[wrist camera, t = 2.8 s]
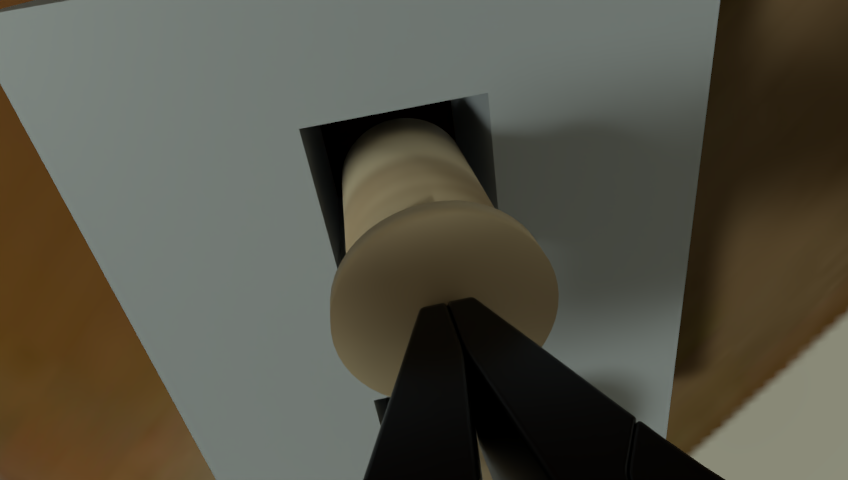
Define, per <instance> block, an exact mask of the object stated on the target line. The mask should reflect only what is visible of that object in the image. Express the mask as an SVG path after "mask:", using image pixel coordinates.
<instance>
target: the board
mask: <svg viewBox="0 0 848 480" xmlns="http://www.w3.org/2000/svg"><path fill="white" fill-rule="evenodd" d="M719 6H720V0H34V1H30V2H26V3H22V4H19V5H15V6H11V7H7V8H3V9H0V84H1V86H2V87H3V89H4V91H5V93H6V95H7V97H8V98H9V100H10V102H11V104H12V106H13V108H14V109H15V111H16V113H17V115H18V117H19V119H20V120H21V122H22V124H23V126H24V128H25V130H26V132H27V133H28V135H29V137H30V139H31V141H32V143H33V144H34V146H35V148H36V150H37V152H38V154H39V155H40V157H41V159H42V161H43V163H44V165H45V166H46V168H47V170H48V172H49V174H50V176H51V177H52V179H53V181H54V183H55V185H56V187H57V188H58V190H59V192H60V194H61V196H62V198H63V199H64V201H65V203H66V205H67V207H68V209H69V210H70V212H71V214H72V216H73V218H74V220H75V221H76V223H77V225H78V227H79V229H80V231H81V233H82V234H83V236H84V238H85V240H86V242H87V244H88V245H89V247H90V249H91V251H92V253H93V255H94V256H95V258H96V260H97V262H98V264H99V266H100V267H101V269H102V271H103V273H104V275H105V277H106V278H107V280H108V282H109V284H110V286H111V288H112V289H113V291H114V293H115V295H116V297H117V299H118V300H119V302H120V304H121V306H122V308H123V310H124V311H125V313H126V315H127V317H128V319H129V321H130V322H131V324H132V326H133V328H134V330H135V332H136V334H137V335H138V337H139V339H140V341H141V343H142V345H143V346H144V348H145V350H146V352H147V354H148V356H149V357H150V359H151V361H152V363H153V365H154V367H155V368H156V370H157V372H158V374H159V376H160V378H161V379H162V381H163V383H164V385H165V387H166V389H167V390H168V392H169V394H170V396H171V398H172V400H173V401H174V403H175V405H176V407H177V409H178V411H179V412H180V414H181V416H182V418H183V420H184V422H185V424H186V425H187V427H188V429H189V431H190V433H191V435H192V436H193V438H194V440H195V442H196V444H197V446H198V447H199V449H200V451H201V453H202V455H203V457H204V458H205V460H206V462H207V464H208V466H209V468H210V469H211V471H212V473H213V475H214V477H215V479H216V480H363V478H364V475H365V472H366V469H367V466H368V463H369V460H370V457H371V454H372V451H373V448H374V445H375V442H376V439H377V436H378V433H379V430H380V427H381V424H382V421H383V418H384V415H385V412H386V409H387V406H388V403H389V400H390V397H389V396H386V395H383V394H381V393H379V392H377V391H375V390H373V389H371V388H369V387H368V386H366V385H365V384H363V383H362V382H360V381H359V380H358V379H357V378H356V377H355V376H353V375H352V374H351V373H350V371H349V370H348V369H347V368H346V367H345V366H344V364H343V363H342V361H341V359H340V358H339V356H338V354H337V352H336V349H335V347H334V344H333V340H332V335H331V327H330V295H331V287H332V283H333V280H334V276H335V274H336V271H337V269H338V267H339V265H340V263H341V261H342V259H343V258H344V256H345V255H346V245H345V228H344V212H343V197H339V198H338V195H337V191H336V187H335V183H334V179H333V175H332V171H331V168H330V164H329V160H328V156H327V152H326V148H325V144H324V140H323V136H322V132H321V128H320V125H322V124H327V123H333V122H338V121H343V120H348V119H353V118H359V117H364V116H369V115H374V114H379V113H385V112H390V111H395V110H400V109H406V108H411V107H416V106H421V105H426V104H432V103H437V102H442V101H447V100H451V107H452V115H453V124H454V132H455V140H456V144H457V146H458V147H459V149H460V151H461V152H462V154H463V156H464V157H465V159H466V161H467V162H468V164H469V166H470V167H471V169H472V171H473V172H474V174H475V176H476V177H477V179H478V181H479V182H480V184H481V186H482V188H483V189H484V191H485V193H486V194H487V196H488V198H489V199H490V201H491V203H492V204H493V206H494V208H495V209H498V210H501V211H502V212H504V213H506V214H508V215H510V216H511V217H513V218H514V219H516V220H517V221H518V222H520V223H521V224H522V225H523V226H524V227H525V228H526V229H527V230H528V231H529V232H530V233H531V234H532V236H533V237H534V238H535V240H536V241H537V243H538V244H539V246H540V247H541V249H542V250H543V252H544V253H545V255H546V256H547V258H548V259H549V261H550V263H551V265H552V267H553V270H554V272H555V275H556V279H557V283H558V292H559V300H558V310H557V315H556V319H555V322H554V324H553V327H552V330H551V332H550V334H549V336H548V338H547V340H546V341H545V343H544V344H543V346H542V348H543V349H544V350H546V351H547V352H548V353H550V354H551V355H553V356H554V357H555V358H557V359H558V360H559V361H561V362H562V363H563V364H565V365H566V366H567V367H569V368H570V369H571V370H573V371H574V372H575V373H577V374H578V375H579V376H581V377H582V378H583V379H585V380H586V381H587V382H589V383H590V384H592V385H593V386H594V387H596V388H597V389H598V390H600V391H601V392H602V393H604V394H605V395H606V396H608V397H609V398H610V399H612V400H613V401H614V402H616V403H617V404H618V405H620V406H621V407H622V408H624V409H625V410H626V411H628V412H629V413H631V414H632V415H633V416H635V418H636V422H638V421H642V422H643V423H644V424H646V425H647V426H648V427H650V428H651V429H652V430H654V431H655V432H656V433H658V434H659V435H660V436H662V437H663V438H665V439H666V434H667V425H668V417H669V409H670V401H671V393H672V385H673V377H674V369H675V361H676V353H677V345H678V337H679V329H680V321H681V313H682V305H683V296H684V288H685V280H686V272H687V264H688V256H689V248H690V240H691V232H692V224H693V216H694V208H695V200H696V192H697V184H698V176H699V168H700V159H701V151H702V143H703V135H704V127H705V119H706V111H707V103H708V95H709V87H710V79H711V71H712V63H713V55H714V47H715V39H716V30H717V22H718V14H719Z"/></svg>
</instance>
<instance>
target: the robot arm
mask: <svg viewBox="0 0 848 480" xmlns="http://www.w3.org/2000/svg"><path fill="white" fill-rule="evenodd" d="M477 439H478V441H477ZM478 442H479V445H480V448H481V451H482V454H483V456H484V459H485V462H486V464H487V467H488V469H489V472H490V474H491V477H492V479H493V480H725V479H723V478H722V477H720V476H719V475H717V474H715V473H714V472H712V471H711V470H709V469H708V468H706V467H704V466H703V465H701V464H700V463H698V462H697V461H696V460H694V459H693V458H692V457H690V456H689V455H687V454H686V453H684V452H683V451H682V450H680V449H679V448H677V447H676V446H674V445H673V444H672V443H670V442H669V441H667V440H666V439H665V438H663V437H662V436H660V435H659V434H658V433H656V432H655V431H654V430H652V429H651V428H650V427H648V426H647V425H646V424H644V423H643V422H642V421H638V422H636V418H635V416H633V415H632V414H631V413H629V412H628V411H626V410H625V409H624V408H622V407H621V406H620V405H618V404H617V403H616V402H614V401H613V400H612V399H610V398H609V397H608V396H606V395H605V394H604V393H602V392H601V391H600V390H598V389H597V388H596V387H594V386H593V385H592V384H590V383H589V382H587V381H586V380H585V379H583V378H582V377H581V376H579V375H578V374H577V373H575V372H574V371H573V370H571V369H570V368H569V367H567V366H566V365H565V364H563V363H562V362H561V361H559V360H558V359H557V358H555V357H554V356H553V355H551V354H550V353H548V352H547V351H546V350H544V349H543V348H542V347H540V346H539V345H538V344H536V343H535V342H534V341H532V340H531V339H530V338H528V337H527V336H526V335H524V334H523V333H522V332H520V331H519V330H518V329H516V328H515V327H514V326H512V325H511V324H509V323H508V322H507V321H505V320H504V319H503V318H501V317H500V316H499V315H497V314H496V313H495V312H493V311H492V310H491V309H489V308H488V307H487V306H485V305H484V304H483V303H481V302H480V301H479V300H477V299H476V298H474V297H468V298H463V299H458V300H454V301H450V302H449V303H448V306H447V305H446V304H444V303H440V304H435V305H430V306H426V307H422V308H421V309H420V310H419V312H418V315H417V318H416V321H415V324H414V327H413V330H412V333H411V336H410V339H409V343H408V346H407V349H406V352H405V355H404V358H403V361H402V364H401V367H400V370H399V373H398V376H397V379H396V382H395V385H394V388H393V391H392V394H391V397H390V400H389V403H388V406H387V409H386V412H385V415H384V418H383V421H382V424H381V427H380V430H379V433H378V436H377V439H376V442H375V445H374V448H373V451H372V454H371V457H370V460H369V463H368V466H367V469H366V472H365V475H364V478H363V480H483V478H482V470H481V462H480V455H479V448H478Z"/></svg>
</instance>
